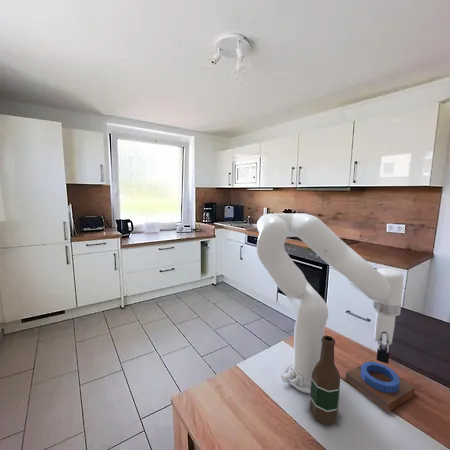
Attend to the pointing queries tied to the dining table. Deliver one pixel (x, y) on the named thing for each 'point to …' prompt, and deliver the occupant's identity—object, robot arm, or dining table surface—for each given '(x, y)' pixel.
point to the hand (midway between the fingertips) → (382, 353)
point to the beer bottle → (325, 385)
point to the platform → (378, 397)
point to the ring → (377, 384)
